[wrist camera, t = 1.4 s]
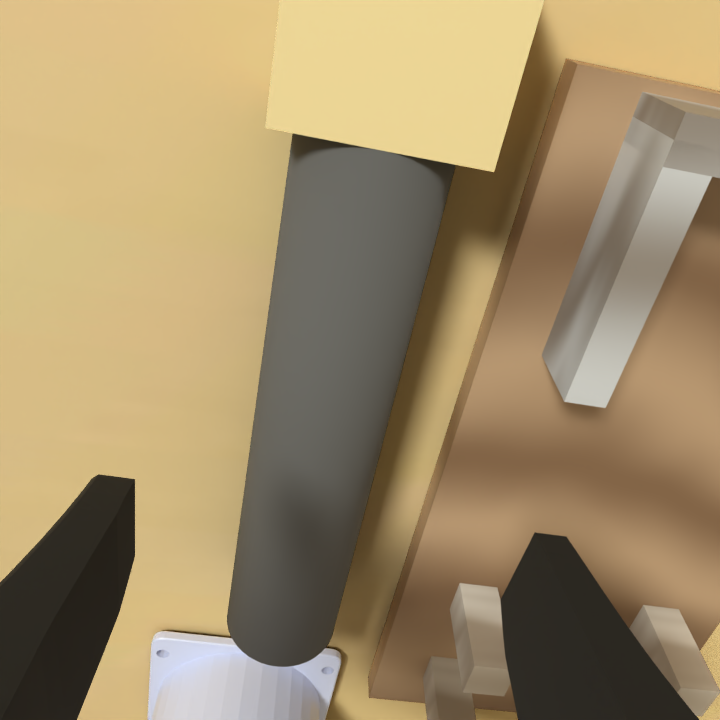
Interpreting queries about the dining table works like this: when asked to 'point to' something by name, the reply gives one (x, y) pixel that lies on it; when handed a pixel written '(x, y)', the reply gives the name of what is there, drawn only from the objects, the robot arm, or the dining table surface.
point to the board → (583, 403)
